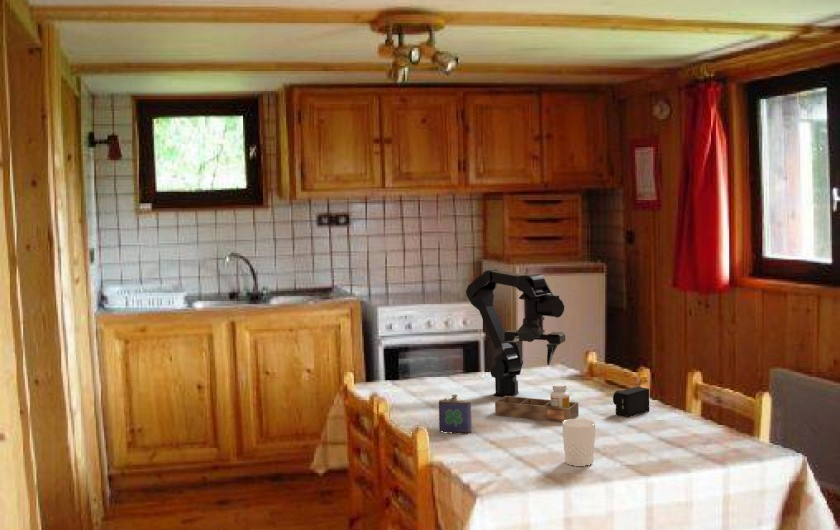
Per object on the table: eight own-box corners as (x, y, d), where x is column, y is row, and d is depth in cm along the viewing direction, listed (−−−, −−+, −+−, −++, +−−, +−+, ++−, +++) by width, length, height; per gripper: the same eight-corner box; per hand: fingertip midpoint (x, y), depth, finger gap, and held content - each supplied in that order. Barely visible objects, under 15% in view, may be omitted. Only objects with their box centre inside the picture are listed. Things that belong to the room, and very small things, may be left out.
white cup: (559, 458, 221) (558, 419, 221) (590, 457, 222) (590, 417, 221) (567, 468, 214) (566, 427, 213) (599, 466, 214) (599, 426, 213)
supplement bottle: (569, 415, 262) (568, 382, 261) (570, 420, 257) (569, 386, 256) (550, 415, 263) (549, 383, 262) (551, 420, 257) (550, 386, 257)
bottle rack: (494, 415, 265) (494, 402, 264) (505, 408, 272) (505, 395, 272) (569, 422, 254) (568, 409, 254) (578, 415, 261) (578, 402, 261)
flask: (472, 431, 248) (471, 393, 247) (470, 434, 245) (469, 396, 244) (440, 430, 251) (439, 392, 250) (437, 433, 248) (436, 395, 247)
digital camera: (634, 408, 268) (634, 385, 268) (649, 411, 264) (649, 388, 264) (612, 414, 262) (612, 391, 261) (627, 418, 258) (626, 394, 257)
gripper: (495, 316, 275) (496, 366, 277) (553, 319, 266) (554, 371, 268) (509, 311, 285) (510, 360, 286) (565, 314, 276) (566, 364, 277)
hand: (534, 363), depth 279 cm, fingers open, 9 cm apart
